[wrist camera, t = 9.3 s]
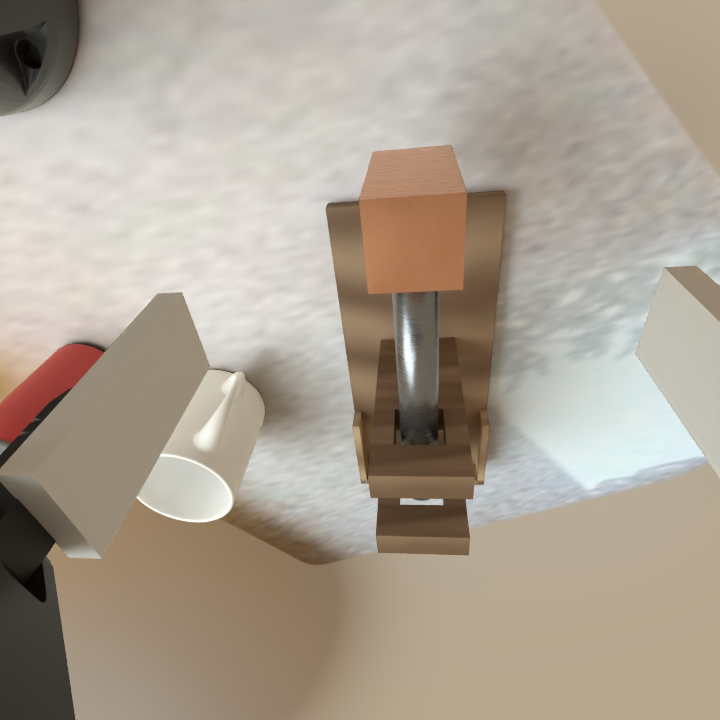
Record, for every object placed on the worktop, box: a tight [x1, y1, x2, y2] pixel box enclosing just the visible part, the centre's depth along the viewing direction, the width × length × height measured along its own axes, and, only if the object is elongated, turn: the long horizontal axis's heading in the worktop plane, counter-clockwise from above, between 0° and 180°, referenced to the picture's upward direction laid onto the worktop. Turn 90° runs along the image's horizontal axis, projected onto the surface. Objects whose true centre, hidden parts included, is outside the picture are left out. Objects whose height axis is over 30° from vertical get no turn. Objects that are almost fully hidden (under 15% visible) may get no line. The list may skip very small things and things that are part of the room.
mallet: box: [359, 145, 467, 501], centre depth 26 cm, size 22×4×8 cm, turn 6°
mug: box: [136, 370, 265, 522], centre depth 39 cm, size 9×12×11 cm
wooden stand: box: [326, 191, 506, 555], centre depth 33 cm, size 27×12×15 cm, turn 6°
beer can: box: [0, 344, 104, 455], centre depth 38 cm, size 7×7×12 cm
